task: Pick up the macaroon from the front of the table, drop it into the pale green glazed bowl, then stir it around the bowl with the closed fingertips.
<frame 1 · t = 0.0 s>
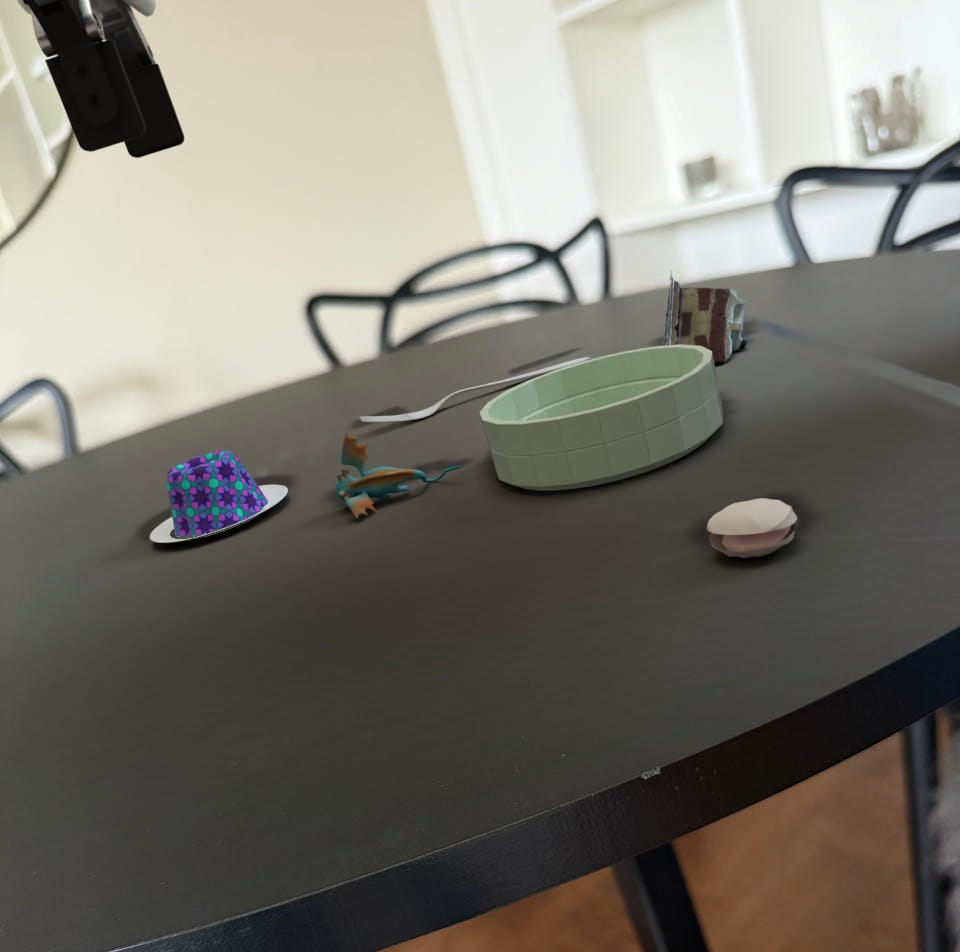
hand: (139, 147, 53), 26 cm above the table, tool pointing down, fingers open, 9 cm apart
dragon figurine: (394, 501, 77), on the table
fork: (480, 398, 102), on the table
purple patterned hat: (223, 522, 86), on the table
bowl: (609, 450, 73), on the table
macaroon: (761, 548, 51), on the table
chocolate cake: (707, 358, 91), on the table
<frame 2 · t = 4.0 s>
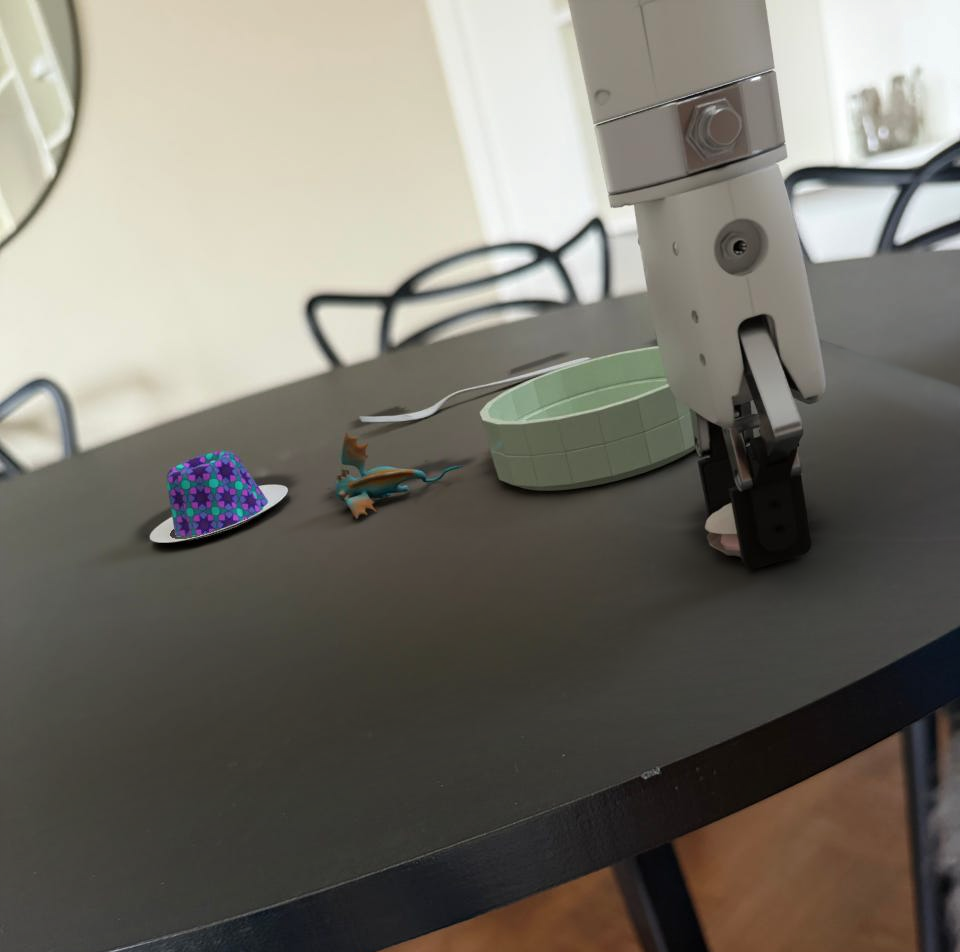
hand: (758, 538, 51), 0 cm above the table, tool pointing down, fingers closed on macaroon, 4 cm apart
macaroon: (759, 547, 51), on the table, touching gripper
everything else where it was.
when the fingers open (1 cm above the table, at t = 10.7 s): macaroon stays where it is, resting on bowl.
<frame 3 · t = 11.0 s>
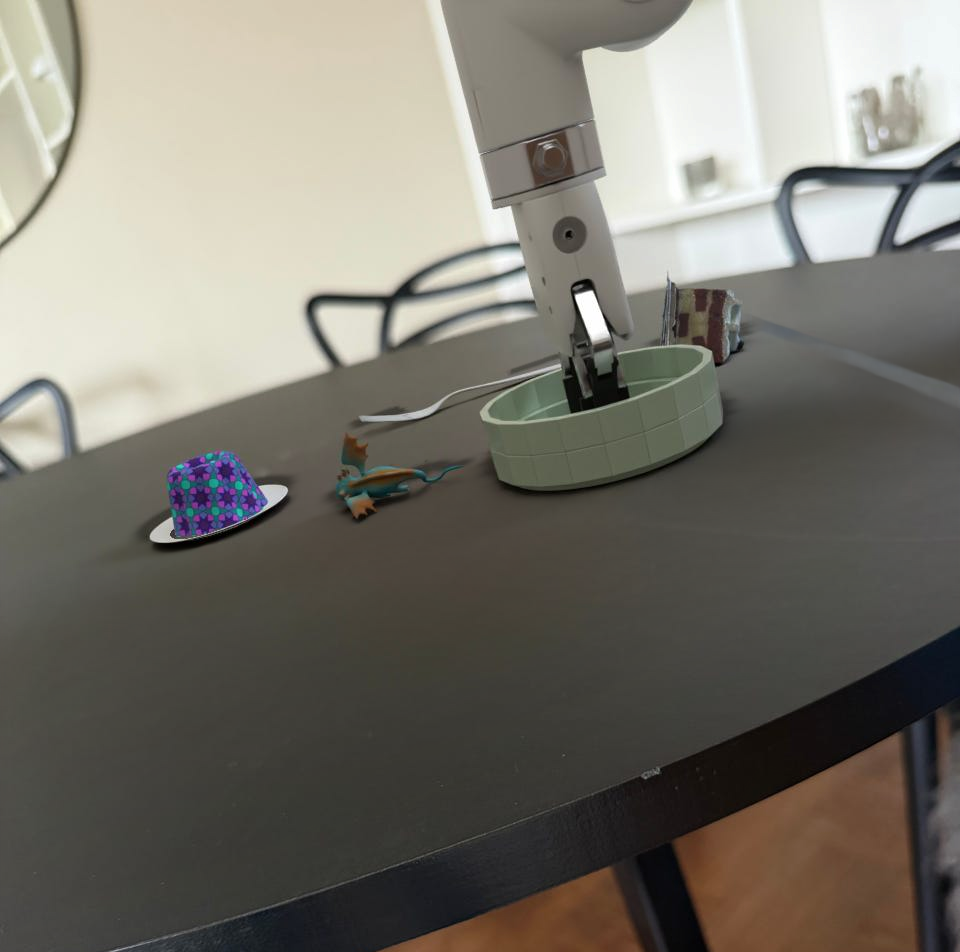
hand: (605, 435, 72), 1 cm above the table, tool pointing down, fingers open, 6 cm apart
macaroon: (607, 444, 73), resting on bowl
everything else where it was.
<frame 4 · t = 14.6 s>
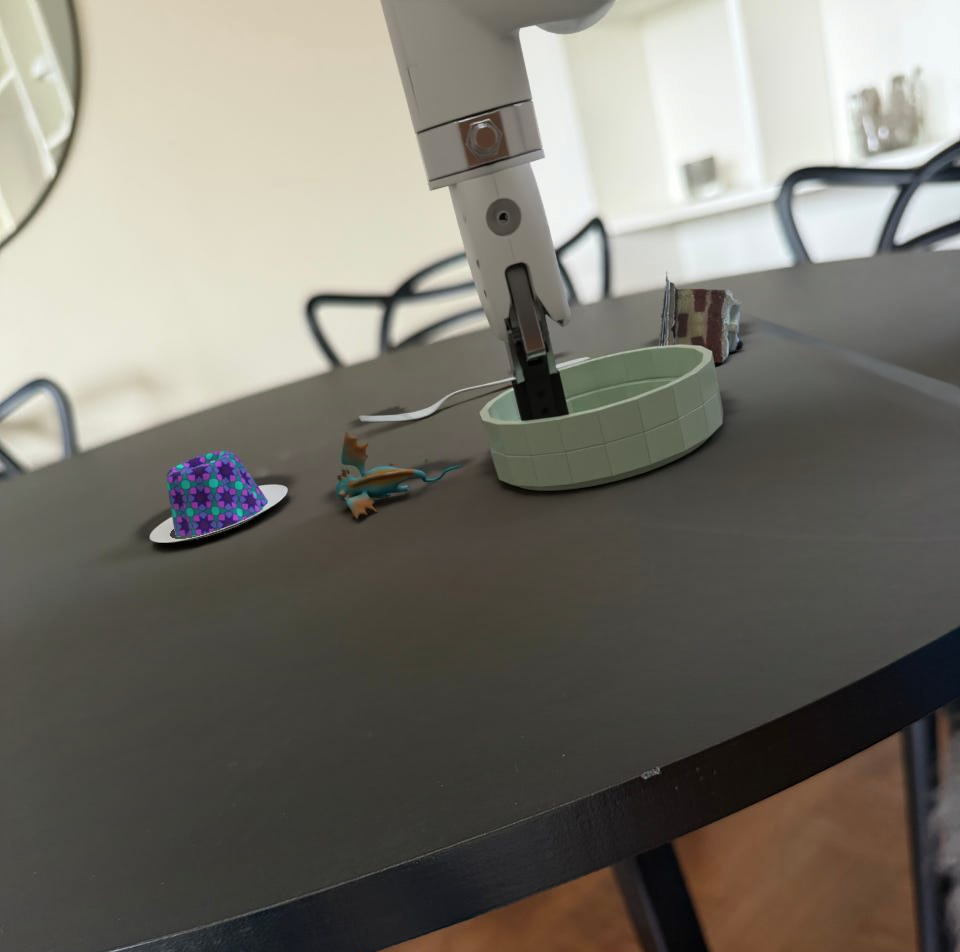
hand: (548, 431, 71), 3 cm above the table, tool pointing down, fingers closed
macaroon: (607, 443, 73), resting on bowl, touching gripper
everything else where it was.
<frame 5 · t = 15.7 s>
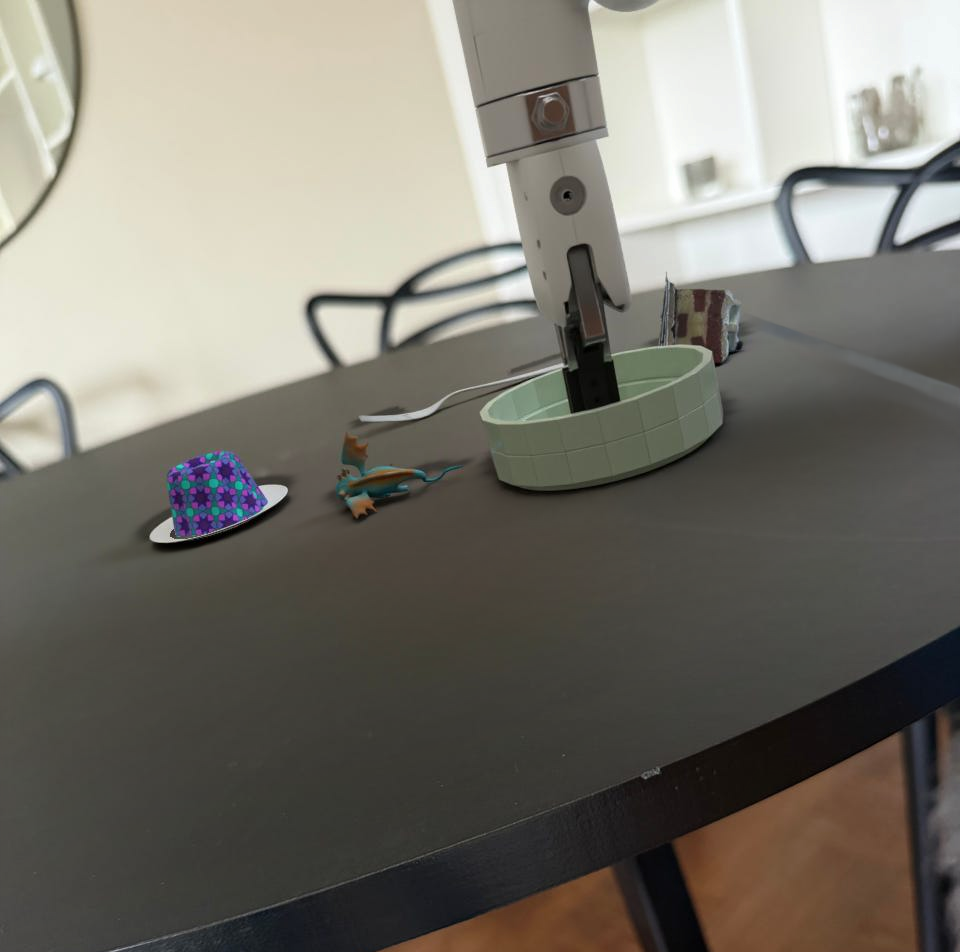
hand: (598, 422, 69), 3 cm above the table, tool pointing down, fingers closed
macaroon: (623, 439, 73), resting on bowl, touching gripper
everything else where it was.
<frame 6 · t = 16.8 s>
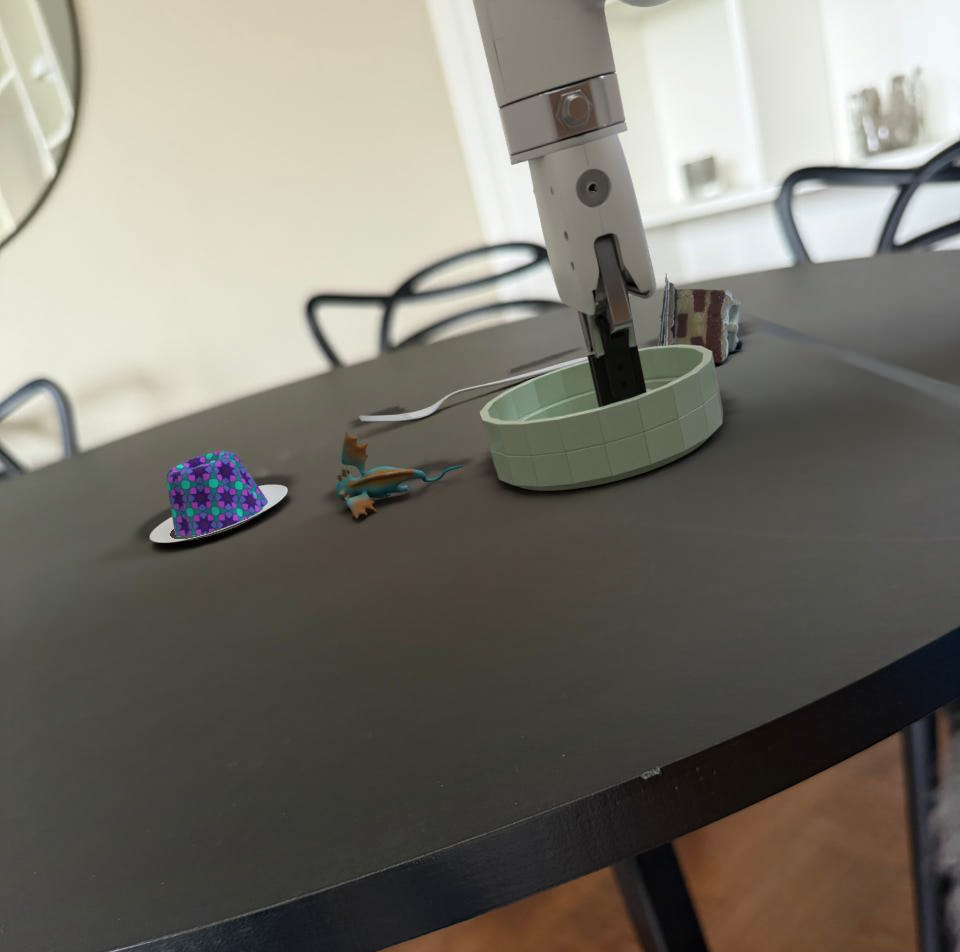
hand: (623, 406, 72), 3 cm above the table, tool pointing down, fingers closed
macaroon: (641, 423, 75), resting on bowl, touching gripper
everything else where it was.
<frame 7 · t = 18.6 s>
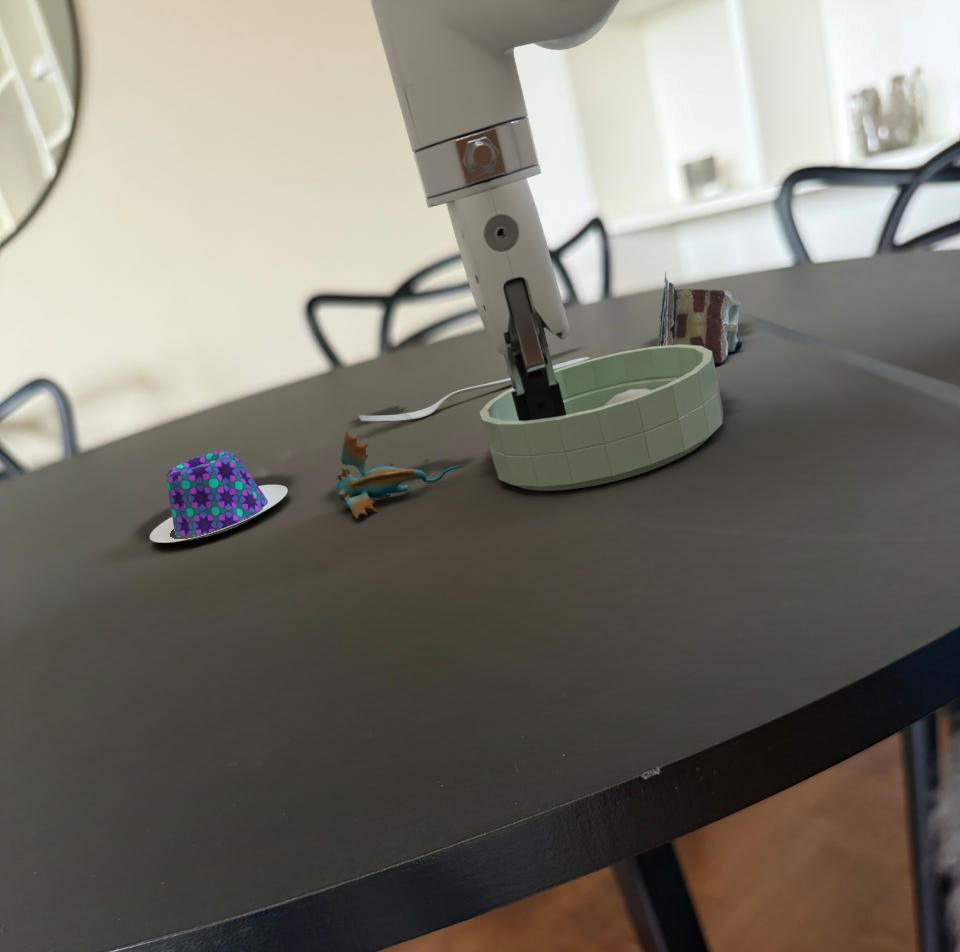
hand: (548, 442, 72), 2 cm above the table, tool pointing down, fingers closed
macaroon: (638, 424, 75), resting on bowl
everything else where it was.
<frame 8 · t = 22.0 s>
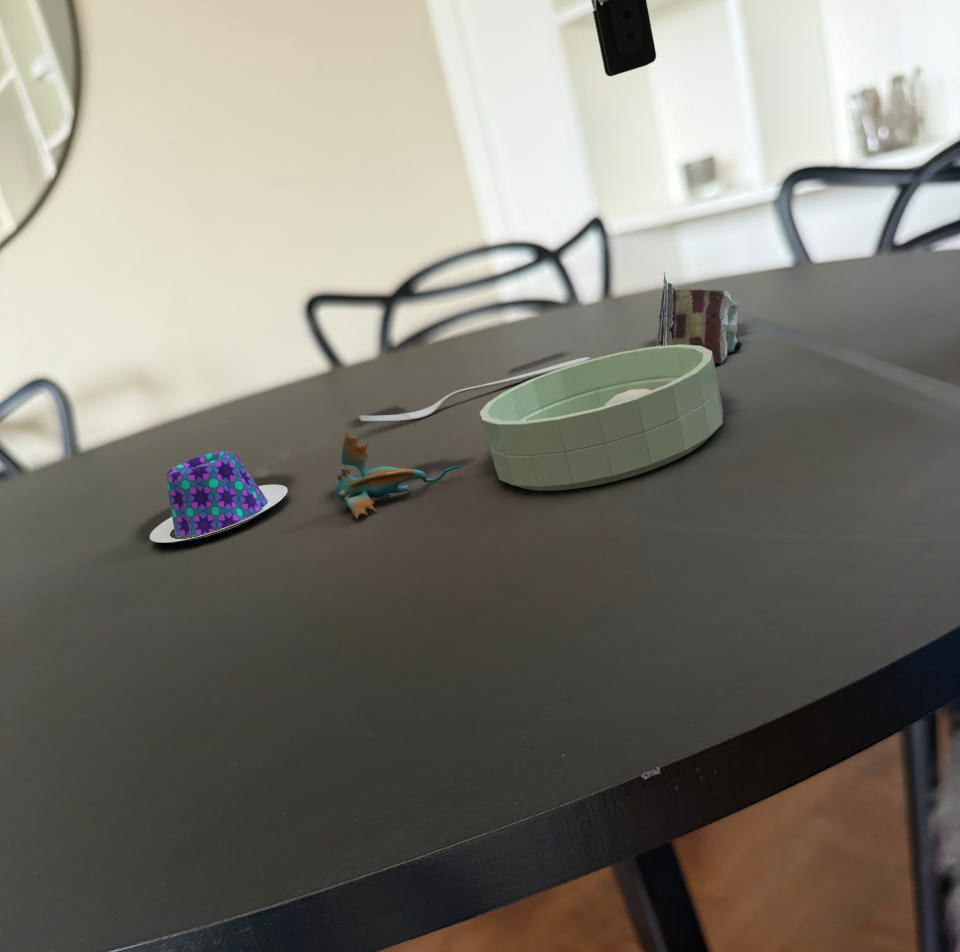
hand: (631, 68, 69), 23 cm above the table, tool pointing down, fingers closed
nothing on the table moved.
at the end: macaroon inside the target area in the bowl (4.3 cm from its centre), point 0.4 cm above the bowl's base; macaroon moved 27.2 cm from its start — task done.
